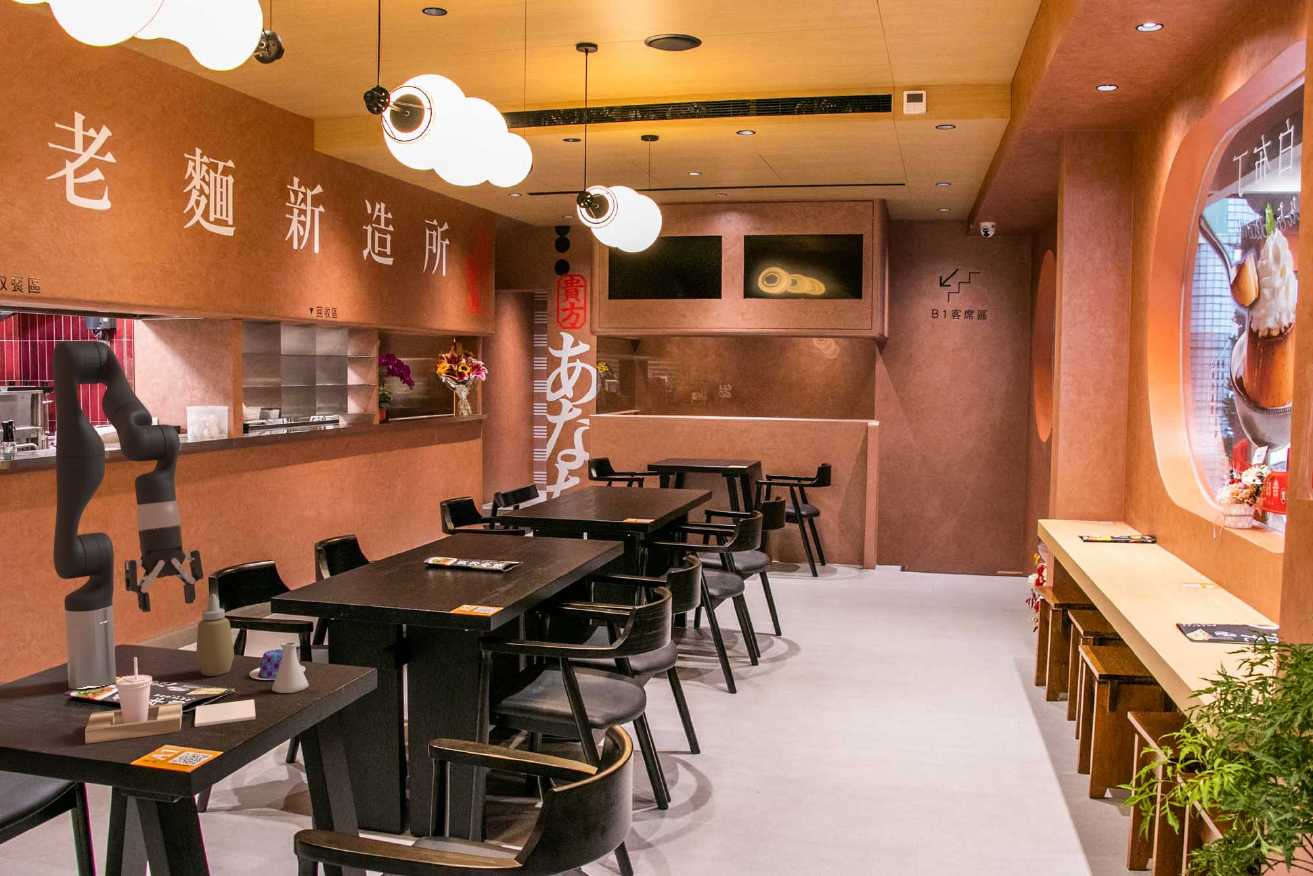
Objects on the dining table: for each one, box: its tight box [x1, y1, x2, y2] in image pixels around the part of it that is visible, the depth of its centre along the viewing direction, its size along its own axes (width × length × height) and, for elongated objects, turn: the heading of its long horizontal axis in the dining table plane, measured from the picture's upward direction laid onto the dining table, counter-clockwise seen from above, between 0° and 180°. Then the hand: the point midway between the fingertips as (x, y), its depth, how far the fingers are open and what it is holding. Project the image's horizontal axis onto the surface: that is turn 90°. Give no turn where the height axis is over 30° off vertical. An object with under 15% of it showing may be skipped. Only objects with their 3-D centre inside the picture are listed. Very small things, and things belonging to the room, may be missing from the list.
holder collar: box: [84, 701, 183, 744], centre depth 200 cm, size 10×16×2 cm, turn 113°
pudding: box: [248, 648, 306, 681], centre depth 235 cm, size 12×12×5 cm
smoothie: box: [114, 656, 153, 724], centre depth 200 cm, size 6×6×14 cm
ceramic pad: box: [194, 699, 257, 728], centre depth 208 cm, size 11×11×1 cm
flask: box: [271, 641, 310, 694], centre depth 224 cm, size 7×7×10 cm
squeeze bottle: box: [195, 593, 235, 677], centre depth 236 cm, size 8×8×18 cm
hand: (168, 607), depth 204 cm, fingers open, 8 cm apart
